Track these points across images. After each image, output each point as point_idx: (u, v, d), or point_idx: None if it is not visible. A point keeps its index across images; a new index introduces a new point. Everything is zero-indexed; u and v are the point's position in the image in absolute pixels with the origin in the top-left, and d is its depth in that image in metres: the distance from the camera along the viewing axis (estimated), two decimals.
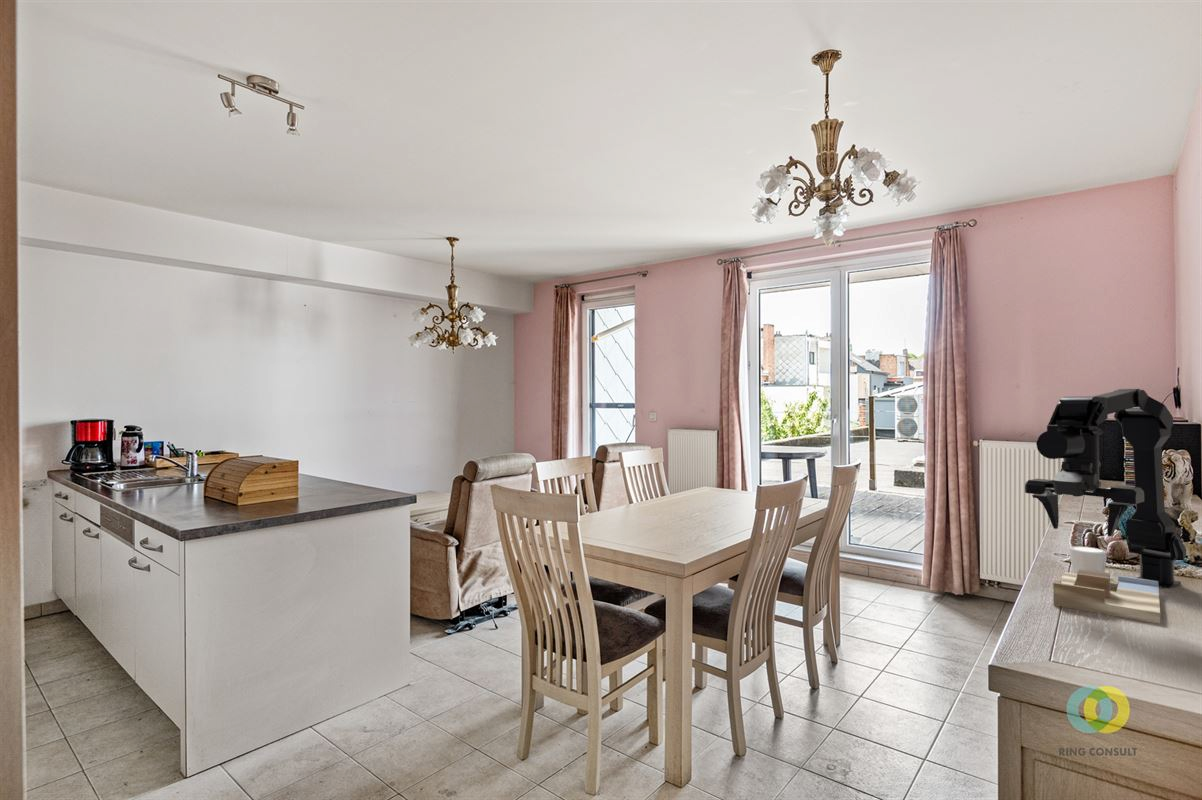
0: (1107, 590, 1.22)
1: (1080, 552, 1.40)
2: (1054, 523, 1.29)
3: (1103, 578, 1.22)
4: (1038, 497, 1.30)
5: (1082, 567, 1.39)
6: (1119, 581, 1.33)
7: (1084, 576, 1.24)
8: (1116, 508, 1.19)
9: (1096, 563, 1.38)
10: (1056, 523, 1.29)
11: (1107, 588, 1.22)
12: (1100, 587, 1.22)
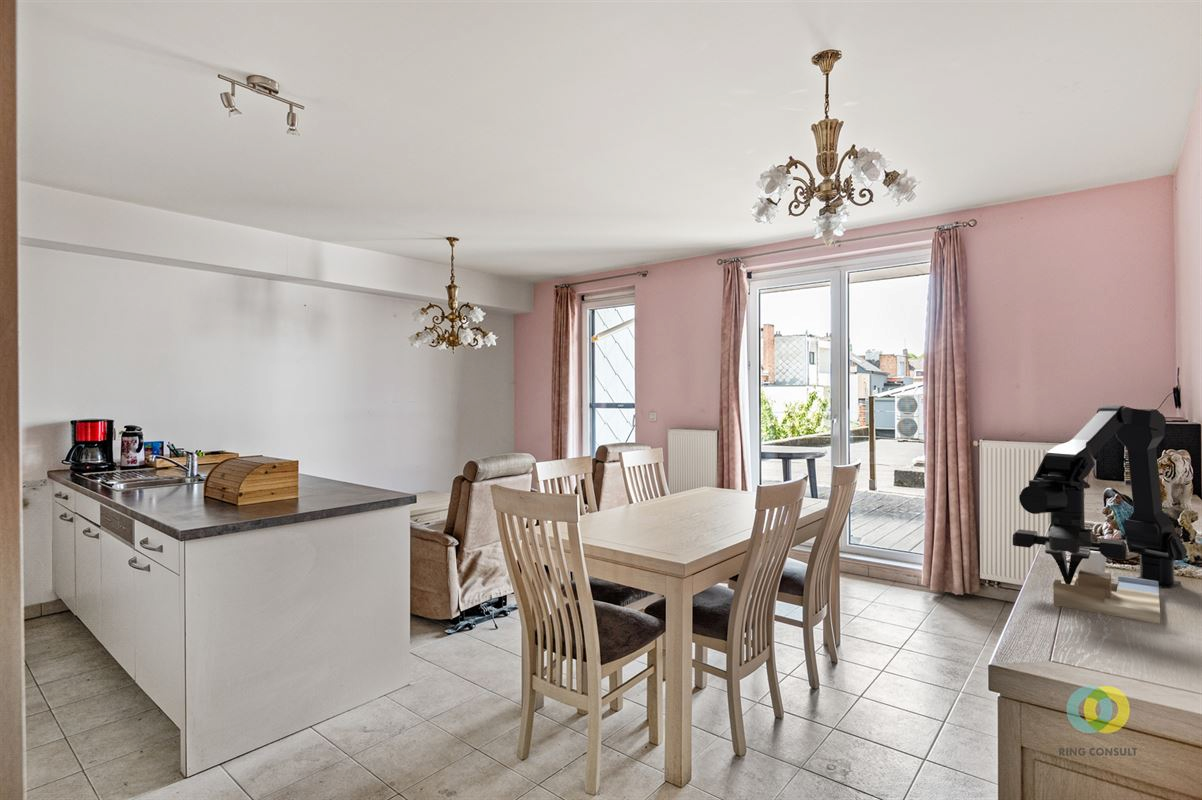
0: (1108, 590, 1.21)
1: None
2: (1066, 579, 1.27)
3: (1104, 578, 1.22)
4: (1052, 553, 1.27)
5: (1082, 567, 1.39)
6: (1119, 581, 1.33)
7: (1085, 576, 1.24)
8: (1078, 559, 1.25)
9: (1096, 563, 1.38)
10: None
11: (1108, 588, 1.21)
12: (1101, 587, 1.22)
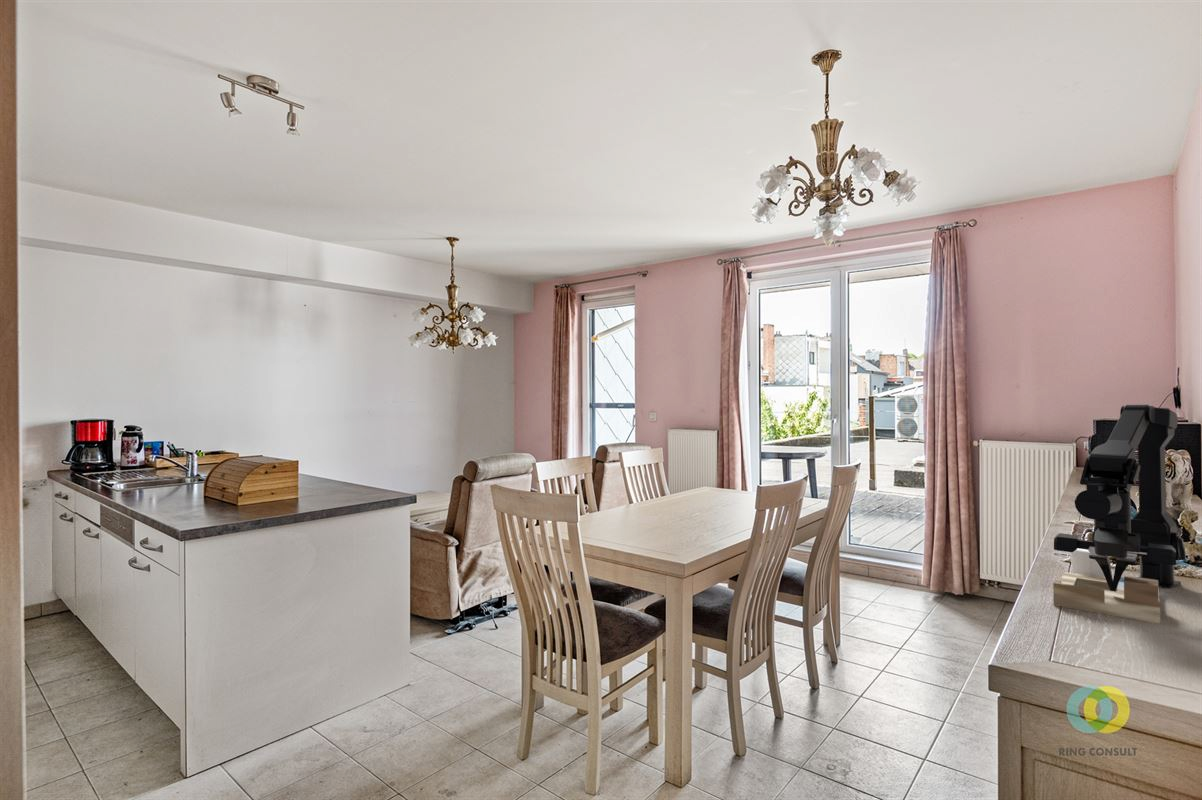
0: (1157, 598, 1.16)
1: (1080, 552, 1.40)
2: (1111, 585, 1.23)
3: (1152, 585, 1.17)
4: (1097, 558, 1.22)
5: (1082, 567, 1.39)
6: (1119, 581, 1.33)
7: (1132, 583, 1.19)
8: (1124, 564, 1.20)
9: (1096, 563, 1.38)
10: None
11: (1157, 596, 1.16)
12: (1149, 595, 1.17)
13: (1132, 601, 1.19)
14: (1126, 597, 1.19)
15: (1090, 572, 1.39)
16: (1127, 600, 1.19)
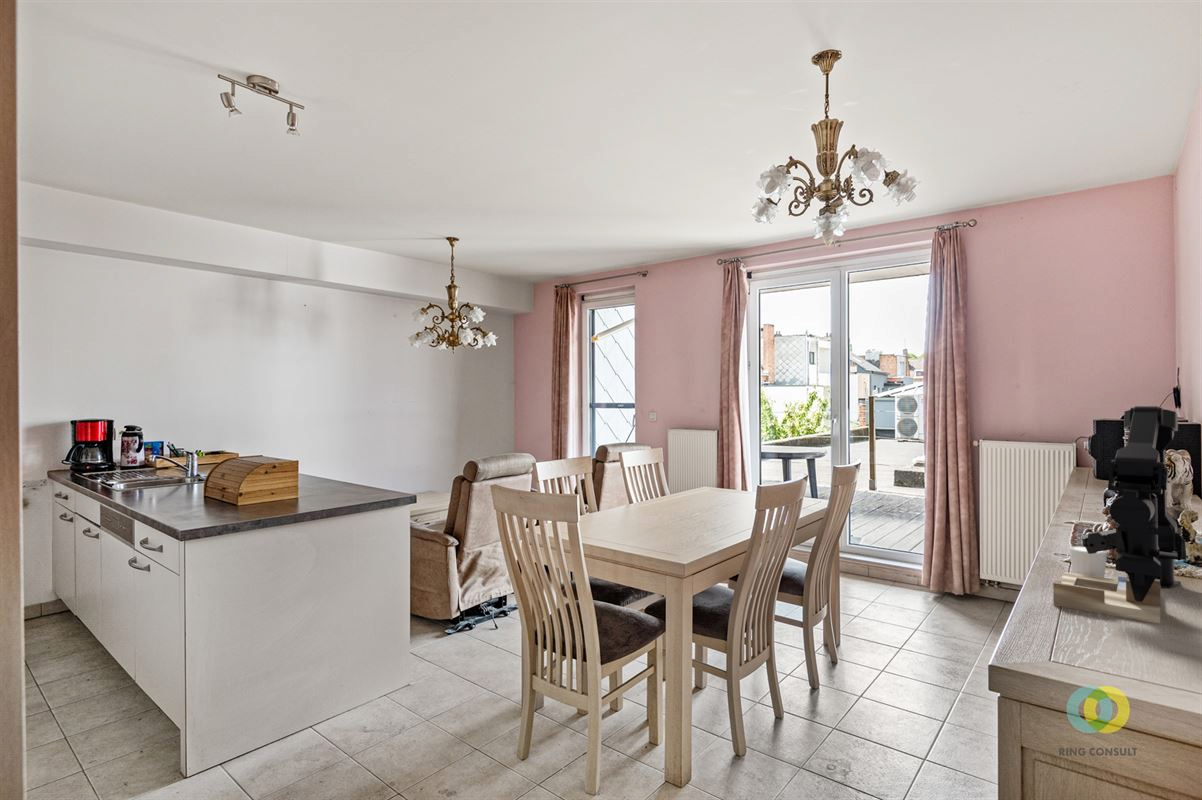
0: (1159, 598, 1.17)
1: (1080, 552, 1.40)
2: None
3: (1154, 585, 1.17)
4: None
5: (1082, 567, 1.39)
6: (1119, 581, 1.33)
7: None
8: None
9: (1096, 563, 1.38)
10: None
11: (1159, 595, 1.17)
12: (1151, 594, 1.17)
13: (1134, 601, 1.19)
14: (1128, 596, 1.20)
15: (1090, 572, 1.39)
16: (1129, 600, 1.20)
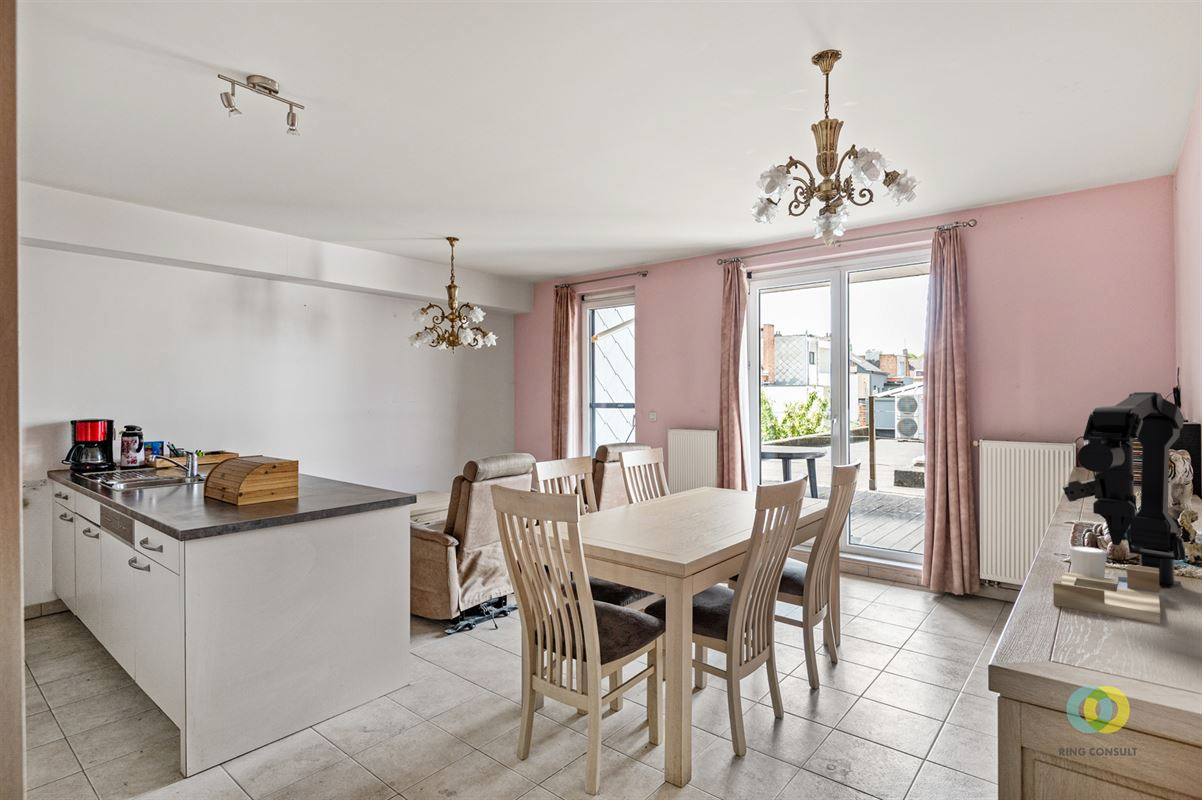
0: (1157, 585, 1.25)
1: (1080, 552, 1.40)
2: (1111, 538, 1.25)
3: (1153, 573, 1.26)
4: None
5: (1082, 567, 1.39)
6: (1119, 581, 1.33)
7: (1134, 571, 1.28)
8: None
9: (1096, 563, 1.38)
10: None
11: (1157, 583, 1.25)
12: (1150, 582, 1.26)
13: (1135, 588, 1.28)
14: (1129, 584, 1.28)
15: (1089, 572, 1.39)
16: (1130, 587, 1.28)
